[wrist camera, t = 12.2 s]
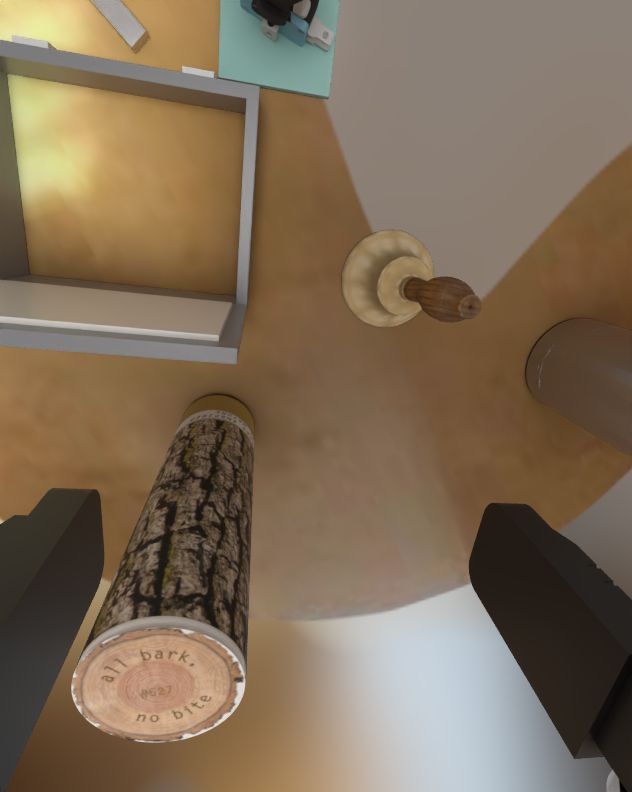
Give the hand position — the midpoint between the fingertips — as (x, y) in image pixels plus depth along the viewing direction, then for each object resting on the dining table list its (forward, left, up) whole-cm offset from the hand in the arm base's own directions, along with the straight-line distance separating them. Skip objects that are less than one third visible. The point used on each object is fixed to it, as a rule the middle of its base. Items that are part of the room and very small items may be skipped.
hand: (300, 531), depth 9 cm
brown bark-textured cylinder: (+4, +12, -30) cm, 33 cm away
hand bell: (-10, -3, -30) cm, 32 cm away
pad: (+1, -20, -30) cm, 36 cm away
